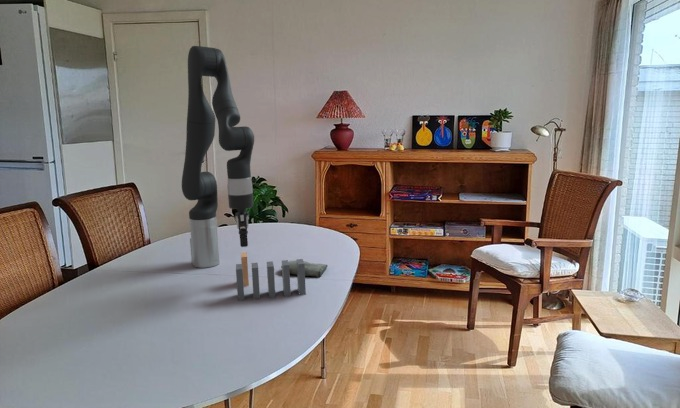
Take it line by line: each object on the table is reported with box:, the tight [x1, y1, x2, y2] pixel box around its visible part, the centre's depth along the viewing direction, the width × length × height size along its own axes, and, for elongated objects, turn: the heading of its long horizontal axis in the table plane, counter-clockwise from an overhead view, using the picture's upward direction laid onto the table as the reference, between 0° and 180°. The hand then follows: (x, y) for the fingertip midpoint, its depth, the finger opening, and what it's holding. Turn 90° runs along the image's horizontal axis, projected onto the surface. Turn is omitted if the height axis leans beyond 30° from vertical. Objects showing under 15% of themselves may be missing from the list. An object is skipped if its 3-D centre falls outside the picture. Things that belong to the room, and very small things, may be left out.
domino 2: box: [240, 252, 250, 287], centre depth 160 cm, size 2×5×10 cm, turn 11°
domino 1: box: [235, 263, 245, 301], centre depth 148 cm, size 2×5×10 cm, turn 11°
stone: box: [281, 260, 329, 278], centre depth 170 cm, size 11×4×15 cm
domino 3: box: [250, 262, 261, 300], centre depth 149 cm, size 2×5×10 cm, turn 11°
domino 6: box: [296, 258, 306, 296], centre depth 151 cm, size 2×5×10 cm, turn 11°
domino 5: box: [281, 259, 292, 297], centre depth 150 cm, size 2×5×10 cm, turn 11°
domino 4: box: [266, 261, 276, 299], centre depth 149 cm, size 2×5×10 cm, turn 11°
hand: (244, 243), depth 158 cm, fingers open, 8 cm apart
